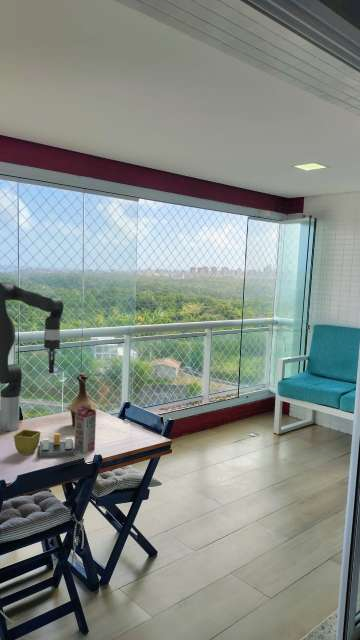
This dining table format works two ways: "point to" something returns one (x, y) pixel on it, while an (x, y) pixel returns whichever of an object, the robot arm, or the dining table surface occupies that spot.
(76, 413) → the juice carton
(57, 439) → the tab mid
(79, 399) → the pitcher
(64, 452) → the panel
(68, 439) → the tab right
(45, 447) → the tab left
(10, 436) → the dining table surface
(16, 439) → the flower pot
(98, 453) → the dining table surface
